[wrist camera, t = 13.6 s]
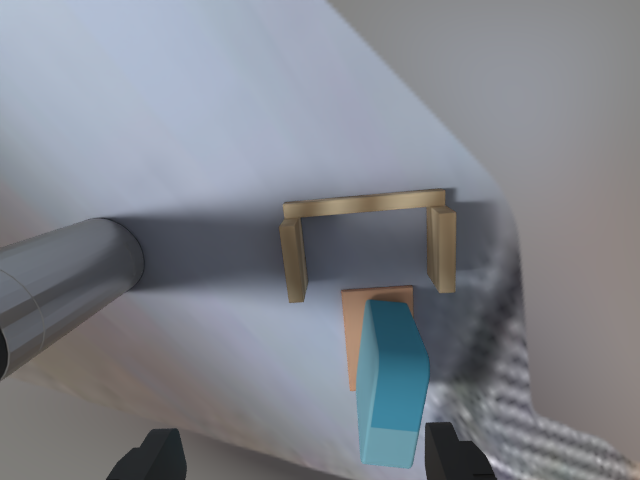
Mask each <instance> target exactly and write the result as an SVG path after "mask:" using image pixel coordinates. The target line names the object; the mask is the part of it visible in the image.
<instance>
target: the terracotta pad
mask: <svg viewBox="0 0 640 480" xmlns="http://www.w3.org/2000/svg"><path fill="white" fill-rule="evenodd" d="M341 293H342V304H343V316H344V327H345V338H346V350H347V361H348V372H349V384H350V391H356V375H357V366H358V358H359V350H360V342H361V333H362V325H363V317H364V309H365V303H366V301H367V300H380V301H391V302H402V303H407V305H408V307H409V309H410V312H411V314H412V316H413V287H412V285H409V286H394V287H379V288H364V289H349V290H341ZM413 319H414V316H413Z"/></svg>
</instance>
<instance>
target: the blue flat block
mask: <svg viewBox="0 0 640 480" xmlns="http://www.w3.org/2000/svg"><path fill="white" fill-rule="evenodd" d="M429 378H430V362H429V357H428V354H427V351H426V349H425V346H424V344H423V341H422V339H421V336H420V334H419V331H418V329H417V326H416V324H415V321H414V319H413V316H412V314H411V312H410V309H409V307H408V305H407V303H402V302H391V301H380V300H367V301H366V303H365V309H364V317H363V325H362V333H361V342H360V350H359V358H358V366H357V375H356V397H357V413H358V429H359V444H360V458H361V462H362V463H363V464H369V465H379V466H388V467H398V468H407V469H409V468H411V467H412V465H413V461H414V455H415V450H416V445H417V440H418V435H419V430H420V425H421V420H422V414H423V409H424V404H425V399H426V394H427V389H428V384H429Z"/></svg>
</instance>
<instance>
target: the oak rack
mask: <svg viewBox="0 0 640 480" xmlns="http://www.w3.org/2000/svg"><path fill="white" fill-rule="evenodd" d="M419 207H427V274H428V276H429V277H430V279H431V281H432V282H433V284H434V285H435V287H436V288H437V290H438V292H439V293H453V292H455V273H456V212H455V211H453V210H452V209H450V208H449V207H447V206H445V190H443V189H441V188H440V189H428V190H417V191H406V192H394V193H383V194H372V195H360V196H349V197H338V198H326V199H315V200H304V201H292V202H285V203H284V204H283V211H284V220H283V222H282V223H281V225H280V226H279V232H280V239H281V247H282V254H283V262H284V269H285V276H286V284H287V291H288V298H289V303H296V302H304V298H305V294H306V289H307V285H308V277H307V269H306V260H305V252H304V243H303V234H302V226H301V217H312V216H324V215H336V214H347V213H359V212H371V211H383V210H395V209H407V208H419Z"/></svg>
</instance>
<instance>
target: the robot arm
mask: <svg viewBox="0 0 640 480" xmlns="http://www.w3.org/2000/svg"><path fill="white" fill-rule="evenodd" d="M143 268H144V259H143V253H142V250H141V248H140V245H139V244H138V242H137V240H136V239H135V237H134V236H133V235H132V234H131V233H130V232H129V231H128V230H127V229H125V228H124V227H123V226H121V225H119V224H117V223H116V222H113V221H110V220H107V219H100V218H95V219H88V220H85V221H82V222H79V223H76V224H73V225H70V226H66V227H63V228H60V229H57V230H53V231H50V232H47V233H44V234H41V235H38V236H35V237H32V238H29V239H26V240H23V241H20V242H17V243H14V244H10V245H7V246H4V247H1V248H0V382H1V381H2V380H3V379H5V378H7V377H8V376H9V375H11V374H12V373H13V372H15V371H16V370H18V369H19V368H20V367H22V366H23V365H25V364H26V363H27V362H29V361H30V360H31V359H33V358H34V357H35V356H37V355H38V354H40V353H41V352H42V351H44V350H45V349H47V348H48V347H49V346H51V345H52V344H54V343H55V342H56V341H58V340H59V339H61V338H62V337H63V336H65V335H66V334H68V333H69V332H70V331H72V330H73V329H75V328H76V327H77V326H79V325H80V324H81V323H83V322H84V321H86V320H87V319H88V318H90V317H91V316H93V315H94V314H95V313H97V312H98V311H100V310H101V309H102V308H104V307H105V306H107V305H108V304H109V303H111V302H112V301H114V300H115V299H117V298H118V297H119V296H121V295H122V294H123V293H125V292H126V291H128V290H129V289H130V288H132V287H133V286H134V285H135V284H136V283H137V282H138V281H139V279H140V277H141V275H142V272H143ZM425 469H426V476H427V480H497V478H495V474H494V472H493V470H492V467H491V465H490V463H489V461H488V459H487V457H486V455H485V454H484V453H483V452H482V451H481V450H480V449H479V448H478V447H477V446H476V445H475V444H474V443H473V442H472V441H459V440H458V437H457V435H456V432H455V430H454V428H453V425H452V424H451V422H432V423H426V425H425ZM186 471H187V465H186V460H185V455H184V451H183V447H182V443H181V438H180V434H179V431H178V429H176V428H172V429H153V430H151V431H150V432H149V433H148V435H147V437H146V438H145V440H144V441H143V443H142V444H141V446H140V448H133V449H132V450H130V451H129V452H128V453H127V454H126V455H125V456H124V457H123V458H122V459H121V460H120V461H118V462H117V464H116V465H115V467H114V468H113V470H112V471H111V473H110V474H109V476H108V477H107V479H106V480H185V478H186Z"/></svg>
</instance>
